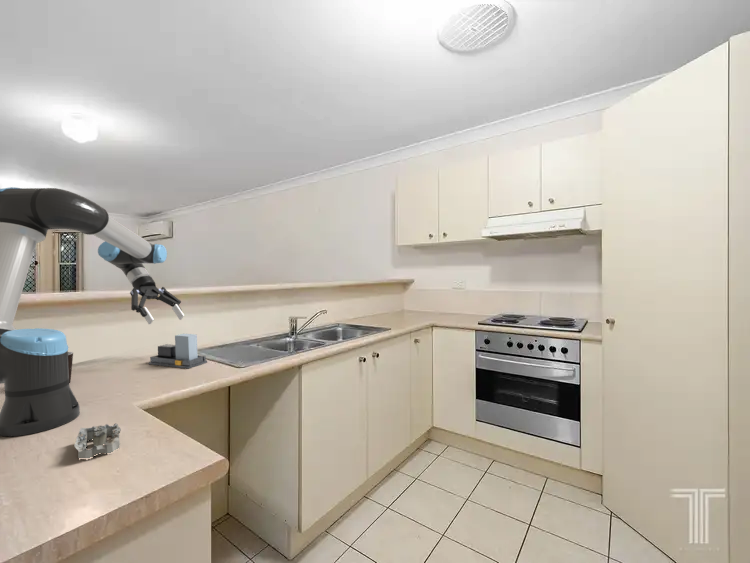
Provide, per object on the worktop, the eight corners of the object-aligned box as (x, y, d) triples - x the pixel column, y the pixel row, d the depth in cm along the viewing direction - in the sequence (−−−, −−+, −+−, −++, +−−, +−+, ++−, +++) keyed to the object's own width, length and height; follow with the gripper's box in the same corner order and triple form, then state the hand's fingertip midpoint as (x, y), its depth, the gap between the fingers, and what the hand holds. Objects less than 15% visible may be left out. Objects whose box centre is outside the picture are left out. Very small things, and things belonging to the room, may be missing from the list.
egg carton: (120, 454, 73) (119, 434, 73) (73, 466, 69) (72, 445, 69) (122, 433, 82) (121, 416, 82) (80, 443, 78) (79, 425, 77)
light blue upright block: (189, 364, 135) (188, 336, 135) (176, 363, 138) (174, 335, 137) (197, 361, 139) (196, 334, 139) (184, 360, 142) (183, 333, 141)
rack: (188, 368, 132) (187, 350, 132) (148, 364, 140) (148, 347, 139) (207, 362, 141) (206, 345, 140) (168, 358, 148) (168, 342, 148)
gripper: (164, 285, 157) (188, 321, 153) (105, 288, 134) (131, 330, 129) (173, 274, 155) (198, 310, 151) (114, 275, 132) (142, 317, 127)
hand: (167, 319), depth 140 cm, fingers open, 13 cm apart
